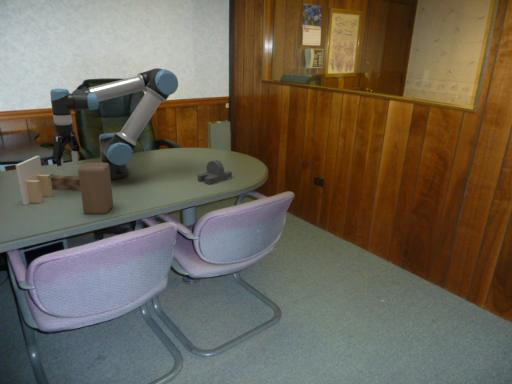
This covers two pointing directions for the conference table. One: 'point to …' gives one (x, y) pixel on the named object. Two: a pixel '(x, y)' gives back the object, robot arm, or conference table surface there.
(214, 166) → the bracket
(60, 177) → the rail
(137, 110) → the robot arm
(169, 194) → the conference table surface
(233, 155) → the conference table surface
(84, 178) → the wooden block
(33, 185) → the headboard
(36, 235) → the conference table surface
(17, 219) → the conference table surface
